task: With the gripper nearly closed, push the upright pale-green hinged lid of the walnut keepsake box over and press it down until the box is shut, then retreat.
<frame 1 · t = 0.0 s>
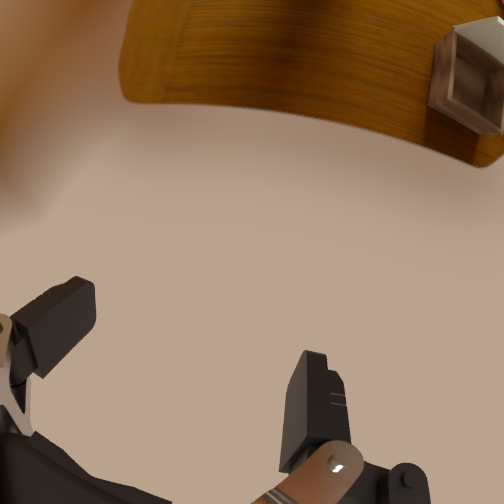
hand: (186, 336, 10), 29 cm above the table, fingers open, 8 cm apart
lid: (503, 45, 15), point 11 cm above the table, hinge at 75.0°
box: (459, 88, 27), on the table
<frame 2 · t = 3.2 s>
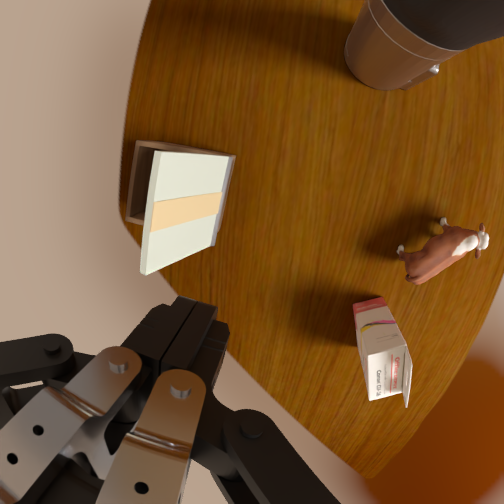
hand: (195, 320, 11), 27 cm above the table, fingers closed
lid: (191, 207, 26), point 11 cm above the table, hinge at 75.0°
ink cartridge box: (369, 322, 40), on the table
bull figurine: (430, 237, 34), on the table
box: (188, 184, 37), on the table
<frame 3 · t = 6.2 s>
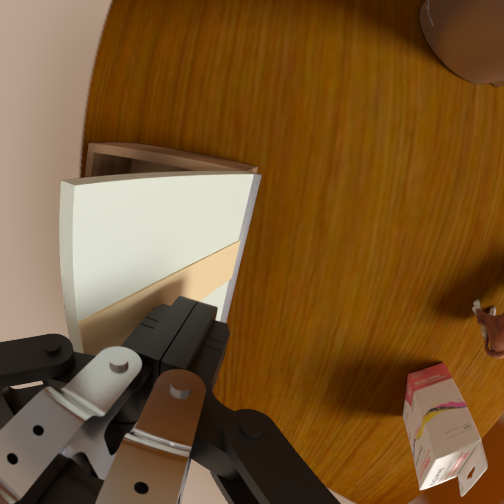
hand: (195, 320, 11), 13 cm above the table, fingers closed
lid: (180, 287, 12), point 11 cm above the table, hinge at 74.7°, touching gripper
ink cartridge box: (421, 390, 26), on the table
box: (179, 211, 23), on the table
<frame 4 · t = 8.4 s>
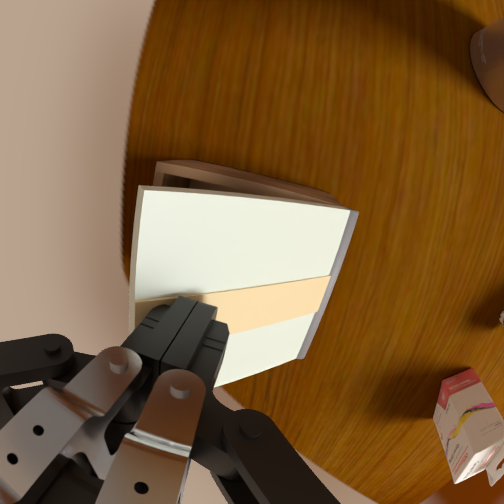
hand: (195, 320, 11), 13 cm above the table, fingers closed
lid: (253, 305, 13), point 10 cm above the table, hinge at 43.3°, touching gripper
ink cartridge box: (450, 394, 26), on the table
box: (243, 236, 23), on the table
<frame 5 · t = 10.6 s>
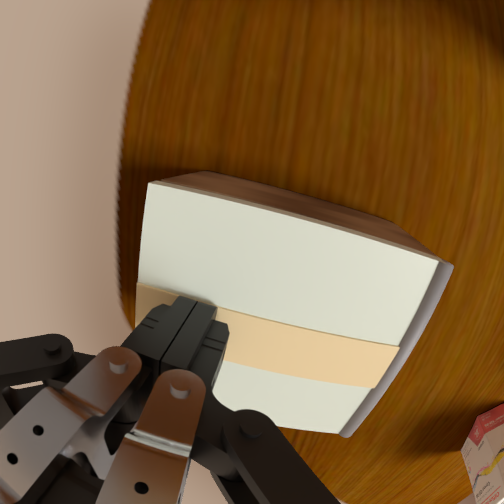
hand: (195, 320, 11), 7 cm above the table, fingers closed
lid: (276, 344, 11), point 7 cm above the table, hinge at 1.9°, touching gripper
ink cartridge box: (481, 427, 20), on the table
box: (279, 275, 17), on the table
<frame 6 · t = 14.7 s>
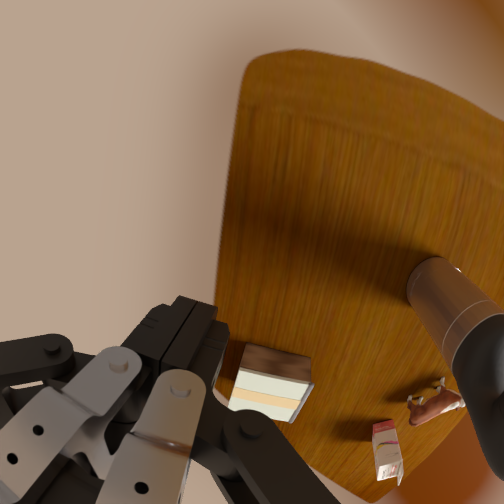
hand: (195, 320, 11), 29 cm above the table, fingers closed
lid: (268, 398, 41), point 7 cm above the table, hinge at 1.8°, touching box
ink cartridge box: (381, 430, 50), on the table
bull figurine: (431, 387, 45), on the table
box: (270, 371, 47), on the table
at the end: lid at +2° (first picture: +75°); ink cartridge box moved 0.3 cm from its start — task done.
